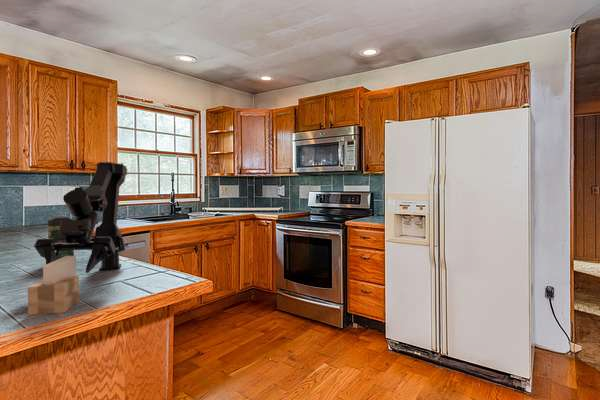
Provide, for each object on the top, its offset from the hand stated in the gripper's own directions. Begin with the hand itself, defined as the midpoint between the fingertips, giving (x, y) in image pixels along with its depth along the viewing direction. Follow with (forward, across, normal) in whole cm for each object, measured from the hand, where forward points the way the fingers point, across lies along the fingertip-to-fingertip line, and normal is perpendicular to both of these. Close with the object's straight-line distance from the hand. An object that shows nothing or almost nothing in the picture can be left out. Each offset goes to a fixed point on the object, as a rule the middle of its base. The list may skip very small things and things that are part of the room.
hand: (67, 273), depth 91 cm
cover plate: (+8, 0, +2) cm, 8 cm away
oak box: (+10, 0, 0) cm, 10 cm away
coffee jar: (-27, -20, +36) cm, 50 cm away
